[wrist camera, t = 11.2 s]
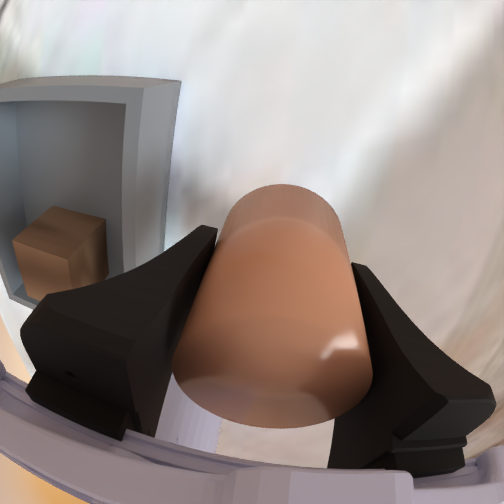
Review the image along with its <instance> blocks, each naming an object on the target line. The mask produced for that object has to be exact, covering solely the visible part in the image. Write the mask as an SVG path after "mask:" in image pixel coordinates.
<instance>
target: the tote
mask: <svg viewBox="0 0 504 504" xmlns="http://www.w3.org/2000/svg"><path fill="white" fill-rule="evenodd" d="M180 86H181V81H177V80H168V79H157V78H144V77H127V76H54V77H38V78H26V79H18V80H14V81H10V82H6V83H2V84H0V273H1V276H2V279H3V282H4V285H5V288H6V291H7V293H8V296H9V299H12V300H14V301H16V302H18V303H20V304H22V305H24V306H27V307H29V308H31V309H33V310H34V309H35V307H36V306H37V305H38V304H39V302H40V301H38V300H36V299H34V298H32V297H29V296H27V292H26V289H25V286H24V283H23V280H22V276H21V273H20V269H19V266H18V262H17V258H16V254H15V250H14V246H13V242H12V240H13V239H14V238H15V237H16V236H17V235H18V234H20V233H21V232H22V231H23V230H24V229H25V228H26V227H28V226H29V225H30V224H31V223H32V222H34V221H35V220H36V219H37V218H38V217H40V216H41V215H42V214H43V213H44V212H46V211H47V210H48V209H49V208H51V207H52V206H56V207H60V208H64V209H68V210H72V211H76V212H80V213H84V214H88V215H92V216H96V217H100V218H104V219H106V237H107V254H108V267H109V275H108V276H107V277H106V279H105V280H107V279H109V278H112V277H115V276H117V275H120V274H122V273H125V272H127V271H130V270H132V269H134V268H136V267H138V266H140V265H142V264H144V263H146V262H148V261H150V260H151V259H153V258H155V257H156V256H158V255H159V254H161V253H163V252H164V239H165V222H166V208H167V195H168V183H169V173H170V163H171V153H172V144H173V136H174V128H175V121H176V113H177V106H178V99H179V93H180Z"/></svg>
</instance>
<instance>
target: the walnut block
mask: <svg viewBox="0 0 504 504" xmlns="http://www.w3.org/2000/svg"><path fill="white" fill-rule="evenodd" d="M12 242H13V246H14V250H15V254H16V258H17V262H18V266H19V269H20V273H21V276H22V280H23V283H24V286H25V289H26V292H27V296H29V297H32V298H34V299H36V300H38V301H41V300H42V299H43V298H44V297H45V296H46V294H49V293H55V292H61V291H66V290H71V289H76V288H80V287H84V286H87V285H91V284H94V283H98V282H101V281H104V280H105V279H106V277H107V276H108V275H109V267H108V254H107V237H106V219H104V218H100V217H96V216H92V215H88V214H84V213H80V212H76V211H72V210H68V209H64V208H60V207H56V206H52V207H51V208H49V209H48V210H47V211H46V212H44V213H43V214H42V215H41V216H40V217H38V218H37V219H36V220H35V221H34V222H32V223H31V224H30V225H29V226H28V227H26V228H25V229H24V230H23V231H22V232H21V233H20V234H18V235H17V236H16V237H15V238H14V239H13V240H12Z"/></svg>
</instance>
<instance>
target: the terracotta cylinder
mask: <svg viewBox="0 0 504 504" xmlns="http://www.w3.org/2000/svg"><path fill="white" fill-rule="evenodd" d="M172 372H173V375H174V378H175V380H176V382H177V384H178V386H179V387H180V388H181V390H182V391H183V392H184V393H185V394H186V395H187V396H188V397H189V398H190V399H191V400H192V401H193V402H195V403H196V404H197V405H199V406H200V407H202V408H203V409H205V410H207V411H209V412H210V413H212V414H215V415H217V416H219V417H221V418H224V419H227V420H229V421H233V422H236V423H240V424H244V425H249V426H255V427H262V428H280V429H282V428H298V427H305V426H310V425H315V424H319V423H323V422H326V421H328V420H331V419H334V418H336V417H338V416H340V415H342V414H344V413H346V412H347V411H349V410H350V409H352V408H353V407H355V406H356V405H357V404H358V403H359V402H360V401H361V400H362V399H363V398H364V397H365V395H366V394H367V392H368V390H369V389H370V386H371V383H372V378H373V371H372V365H371V359H370V353H369V348H368V342H367V337H366V331H365V326H364V321H363V316H362V311H361V306H360V302H359V297H358V292H357V288H356V284H355V279H354V275H353V271H352V266H351V262H350V258H349V254H348V250H347V246H346V242H345V239H344V235H343V231H342V227H341V224H340V221H339V218H338V216H337V214H336V213H335V211H334V209H333V208H332V207H331V206H330V205H329V203H328V202H327V201H325V200H324V199H323V198H322V197H321V196H319V195H318V194H316V193H314V192H312V191H310V190H308V189H305V188H302V187H299V186H295V185H287V184H277V185H269V186H264V187H261V188H258V189H256V190H254V191H252V192H250V193H248V194H247V195H245V196H243V197H242V198H241V199H240V200H239V201H238V202H237V203H236V204H235V205H234V206H233V207H232V209H231V211H230V212H229V214H228V216H227V218H226V221H225V223H224V226H223V228H222V230H221V233H220V235H219V238H218V240H217V243H216V245H215V248H214V250H213V253H212V255H211V258H210V260H209V263H208V265H207V268H206V271H205V273H204V276H203V278H202V281H201V283H200V286H199V289H198V291H197V294H196V296H195V299H194V302H193V304H192V307H191V309H190V312H189V315H188V317H187V320H186V323H185V325H184V328H183V331H182V334H181V336H180V339H179V342H178V344H177V347H176V350H175V353H174V355H173V360H172Z"/></svg>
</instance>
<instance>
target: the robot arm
mask: <svg viewBox="0 0 504 504" xmlns="http://www.w3.org/2000/svg"><path fill="white" fill-rule="evenodd" d="M217 231H218V229H217V228H213V227H209V226H205V225H201V226H199V227H197V228H196V229H195V230H194V231H192V232H191V233H190V234H188V235H187V236H186V237H184V238H183V239H182V240H180V241H179V242H177V243H176V244H175V245H173V246H172V247H170V248H169V249H167V250H166V251H164V252H163V253H161V254H159V255H158V256H156V257H155V258H153V259H151V260H150V261H148V262H146V263H144V264H142V265H140V266H138V267H136V268H134V269H132V270H130V271H127V272H125V273H122V274H120V275H117V276H115V277H112V278H109V279H107V280H104V281H101V282H98V283H94V284H91V285H87V286H84V287H80V288H76V289H71V290H66V291H61V292H55V293H49V294H46V296H45V297H44V298H43V299H42V300H41V301H40V302H39V304H38V305H37V306H36V307H35V309H34V310H33V311H32V313H31V314H30V315H29V317H28V318H27V320H26V321H25V322H24V324H23V325H22V327H21V329H20V336H21V340H22V343H23V345H24V347H25V350H26V352H27V353H28V355H29V357H30V359H31V361H32V363H33V365H34V367H35V369H36V372H35V373H34V375H33V377H32V379H31V381H30V382H29V384H27V383H25V382H23V381H22V380H20V379H18V378H17V377H15V376H13V375H11V374H10V373H8V372H6V369H5V367H4V365H3V364H2V362H1V361H0V453H2V454H3V455H5V456H6V457H8V458H9V459H10V460H12V461H13V462H15V463H16V464H18V465H20V466H21V467H23V468H24V469H26V470H27V471H29V472H31V473H32V474H34V475H36V476H38V477H39V478H41V479H43V480H44V481H46V482H48V483H50V484H52V485H53V486H55V487H57V488H59V489H61V490H63V491H65V492H67V493H69V494H71V495H73V496H75V497H77V498H79V499H81V500H83V501H85V502H88V503H90V504H504V445H501V446H496V447H493V448H490V449H488V450H486V451H485V452H483V453H481V454H480V455H479V456H477V458H473V459H467V460H464V454H463V449H462V447H465V446H466V445H467V439H466V435H468V434H469V433H470V432H472V431H473V430H474V429H476V428H477V427H478V426H480V425H481V424H482V423H483V422H485V421H486V420H487V419H488V418H489V417H490V416H491V415H492V413H493V412H494V410H495V408H496V401H495V398H494V395H493V392H492V389H491V387H490V385H489V384H487V383H486V382H484V381H483V380H481V379H479V378H478V377H476V376H475V375H473V374H471V373H470V372H468V371H467V370H466V369H464V368H463V367H462V366H460V365H459V364H458V363H456V362H455V361H454V360H452V359H451V358H450V357H449V356H447V355H446V354H445V353H444V352H443V351H442V350H440V349H439V348H438V347H437V346H436V345H435V344H434V343H433V342H432V341H430V340H429V339H428V338H427V337H426V336H425V335H424V334H423V332H422V331H421V330H420V329H419V328H418V327H417V326H416V325H415V324H414V323H413V322H412V321H411V320H410V319H409V317H408V316H407V315H406V314H405V313H404V311H403V310H402V309H401V308H400V307H399V305H398V304H397V303H396V302H395V300H394V299H393V298H392V297H391V295H390V294H389V293H388V292H387V290H386V289H385V288H384V286H383V285H382V284H381V283H380V281H379V280H378V279H377V278H376V276H375V275H374V274H373V273H372V272H371V270H370V269H369V268H368V267H367V266H365V265H361V264H357V263H353V262H352V263H351V266H352V271H353V275H354V279H355V284H356V288H357V292H358V297H359V302H360V306H361V311H362V316H363V321H364V326H365V331H366V337H367V342H368V348H369V353H370V359H371V365H372V371H373V378H372V383H371V386H370V389H369V390H368V392H367V394H366V395H365V397H364V398H363V399H362V400H361V401H360V402H359V403H358V404H357V405H356V406H355V407H353V408H352V409H350V410H349V411H347V412H346V413H344V414H342V415H340V416H338V417H336V418H335V421H334V430H333V437H332V444H331V450H330V456H329V461H328V466H327V468H311V467H299V466H289V465H280V464H272V463H264V462H257V461H251V460H245V459H239V458H234V457H228V456H223V455H219V454H216V449H217V444H218V439H219V434H220V429H221V424H222V419H223V418H221V417H219V416H217V415H215V414H212V413H210V412H209V411H207V410H205V409H203V408H202V407H200V406H199V405H197V404H196V403H195V402H193V401H192V400H191V399H190V398H189V397H188V396H187V395H186V394H185V393H184V392H183V391H182V390H181V388H180V387H179V386H178V384H177V382H176V380H175V378H174V375H173V372H172V360H173V355H174V353H175V350H176V347H177V344H178V342H179V339H180V336H181V334H182V331H183V328H184V325H185V323H186V320H187V317H188V315H189V312H190V309H191V307H192V304H193V302H194V299H195V296H196V294H197V291H198V289H199V286H200V283H201V281H202V278H203V276H204V273H205V271H206V268H207V265H208V263H209V260H210V258H211V255H212V253H213V250H214V248H215V242H216V237H217Z"/></svg>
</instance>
